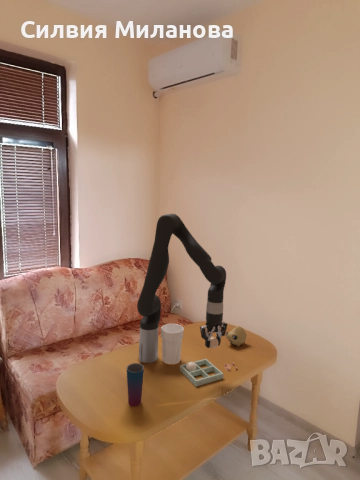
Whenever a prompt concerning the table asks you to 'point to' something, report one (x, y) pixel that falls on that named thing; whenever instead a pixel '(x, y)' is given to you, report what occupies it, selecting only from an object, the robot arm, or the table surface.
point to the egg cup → (229, 366)
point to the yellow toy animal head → (236, 336)
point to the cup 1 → (135, 383)
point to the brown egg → (213, 342)
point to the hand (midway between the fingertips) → (212, 345)
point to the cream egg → (191, 366)
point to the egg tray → (202, 373)
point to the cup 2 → (171, 343)
